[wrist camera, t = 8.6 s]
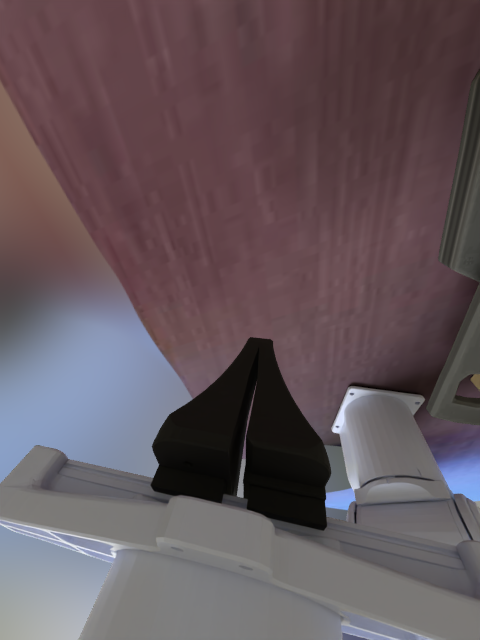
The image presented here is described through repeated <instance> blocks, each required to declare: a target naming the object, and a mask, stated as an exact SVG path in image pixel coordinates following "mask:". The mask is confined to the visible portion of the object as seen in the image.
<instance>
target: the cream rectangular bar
mask: <svg viewBox="0 0 480 640" xmlns="http://www.w3.org/2000/svg"><path fill="white" fill-rule="evenodd" d="M470 380H471V381H472V382H473V384H474V385H475V386H476V387H477V388H478V389H479V391H480V374H474V375H473V377H472V378H471V379H470Z"/></svg>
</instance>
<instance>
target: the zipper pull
mask: <svg viewBox="0 0 480 640" xmlns="http://www.w3.org/2000/svg"><path fill="white" fill-rule="evenodd" d="M438 260H439V261H440V262H441V263H443V264H444V265H446V266H447V267H449V268H451V269H452V270H454V271H456V272H458V273H460V274H462V275H465V276H467V277H469V278H471V279H474V280H476V281H478V282H480V70H479V71H478V73H477V75H476V76H475V78H474V80H473V81H472V83H471V87H470V92H469V98H468V104H467V109H466V115H465V121H464V126H463V132H462V138H461V143H460V149H459V154H458V159H457V164H456V169H455V174H454V179H453V184H452V189H451V194H450V200H449V205H448V210H447V215H446V220H445V225H444V230H443V235H442V240H441V245H440V251H439V258H438ZM470 374H480V283H479V285H478V287H477V290H476V292H475V295H474V297H473V299H472V302H471V304H470V306H469V309H468V311H467V313H466V316H465V318H464V320H463V323H462V325H461V328H460V330H459V332H458V335H457V337H456V339H455V342H454V344H453V346H452V349H451V351H450V354H449V356H448V358H447V361H446V363H445V365H444V367H443V369H442V371H441V373H440V376H439V378H438V381H437V383H436V385H435V388H434V390H433V393H432V395H431V397H430V400H429V402H428V405H427V407H426V409H427V411H428V412H429V413H430V415H431V416H432V417H435V418H439V419H443V420H447V421H451V422H457V423H465V424H472V425H480V398H467V397H462V396H457V395H455V394H456V392H457V389H458V386H459V383H460V381H461V380H463V379H464V378H465V377H467V376H468V375H470Z"/></svg>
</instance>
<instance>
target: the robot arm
mask: <svg viewBox="0 0 480 640" xmlns="http://www.w3.org/2000/svg"><path fill="white" fill-rule="evenodd" d="M256 382H257V384H256ZM255 386H256V390H255ZM254 390H255V395H254V401H253V406H252V411H251V416H250V421H249V426H248V430H247V435H246V466H245V472H244V479H243V483H244V498H240V497H237V490H238V482H239V475H240V468H241V461H242V454H243V447H244V440H245V433H246V426H247V420H248V415H249V410H250V406H251V402H252V398H253V394H254ZM424 400H425V399H424V397H423V396H422V395H416V394H409V393H402V392H394V391H387V390H379V389H372V388H364V387H357V386H350V387H349V388H348V389H347V392H346V394H345V397H344V399H343V402H342V404H341V406H340V409H339V411H338V414H337V416H336V419H335V421H334V423H333V426H332V431H333V432H335V433H339V434H340V439H341V444H342V449H343V454H344V460H345V465H346V470H347V475H348V479H349V482H350V484H351V487H352V488H353V490H354V493H355V498H356V501H353V502H352V503H351V504H350V505H349V509H348V513H347V517H346V521H343V520H338V519H333V518H329V517H326V509H325V500H326V492H325V486H326V483H327V482H328V480H329V478H330V475H331V467H330V463H329V459H328V456H327V452H326V449H325V447H324V444H323V441H322V440H321V438H320V437H319V436H318V435H317V433H316V432H315V431H314V429H313V428H312V427H311V426H310V424H309V423H308V421H307V420H306V418H305V417H304V416H303V414H302V413H301V411H300V409H299V408H298V406H297V405H296V403H295V401H294V400H293V398H292V396H291V394H290V392H289V390H288V388H287V386H286V384H285V382H284V380H283V377H282V375H281V373H280V370H279V367H278V364H277V361H276V358H275V354H274V349H273V341H272V340H271V339H262V338H253V337H250V338H249V339H248V341H247V343H246V344H245V346H244V348H243V349H242V351H241V352H240V354H239V355H238V356H237V358H236V359H235V360H234V361H233V363H232V364H231V365H230V366H229V367H228V369H227V370H226V371H225V372H224V373H223V374H222V375H221V376H220V377H219V378H218V379H217V380H216V381H215V382H214V383H213V384H212V385H210V386H209V387H208V388H207V389H206V390H205V391H203V392H202V393H201V394H199V395H198V396H197V397H195V398H194V399H193V400H192V401H190V402H188V403H187V404H186V405H184V406H182V407H181V408H179V409H177V410H176V411H174V412H173V413H171V414H170V415H169V416H168V417H167V419H166V420H165V422H164V423H163V425H162V427H161V428H160V430H159V433H158V434H157V437H156V438H155V440H154V442H153V445H152V448H153V452H154V454H155V456H156V459H157V461H158V463H159V467H158V469H157V471H156V474H155V476H154V478H150V477H146V476H141V475H137V474H132V473H128V472H123V471H119V470H114V469H110V468H106V467H101V466H96V465H92V464H88V463H83V462H79V461H74V460H70V459H68V458H67V456H66V455H65V454H64V453H63V452H61V451H59V450H57V449H53V448H49V447H44V446H40V445H36V446H35V447H34V448H33V449H32V450H31V451H30V452H29V453H28V454H27V455H26V456H25V457H24V459H23V460H22V461H21V462H20V463H19V464H18V465H17V466H16V467H15V468H14V469H13V470H12V472H11V473H10V474H9V475H8V476H7V477H6V478H5V479H4V481H2V482H1V484H0V525H2V526H4V527H6V528H8V529H10V530H12V531H14V532H17V533H21V534H24V535H27V536H31V537H34V538H37V539H40V540H44V541H47V542H50V543H53V544H56V545H59V546H62V547H65V548H68V549H71V550H74V551H77V552H80V553H83V554H86V555H89V556H92V557H95V558H98V559H101V560H104V561H107V562H110V563H113V564H112V566H111V568H110V570H109V573H108V575H107V577H106V579H105V582H104V584H103V586H102V588H101V591H100V593H99V595H98V597H97V599H96V602H95V604H94V606H93V608H92V611H91V613H90V615H89V617H88V620H87V622H86V624H85V626H84V628H83V631H82V633H81V635H80V637H79V640H343V638H342V632H343V633H347V634H351V635H355V636H359V637H363V638H366V639H370V640H480V508H479V507H478V506H477V504H476V503H475V502H473V501H472V500H470V499H468V498H466V497H465V496H464V495H463V494H453V493H452V491H451V490H450V489H449V487H448V485H447V483H446V481H445V479H444V477H443V475H442V473H441V471H440V469H439V467H438V465H437V463H436V461H435V459H434V457H433V455H432V453H431V451H430V449H429V447H428V445H427V443H426V441H425V439H424V437H423V435H422V433H421V431H420V429H419V427H418V425H417V423H416V421H415V419H414V417H413V415H414V414H415V413H416V411H417V410H418V409H419V407H420V406H421V405H422V403H423V402H424Z"/></svg>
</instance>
